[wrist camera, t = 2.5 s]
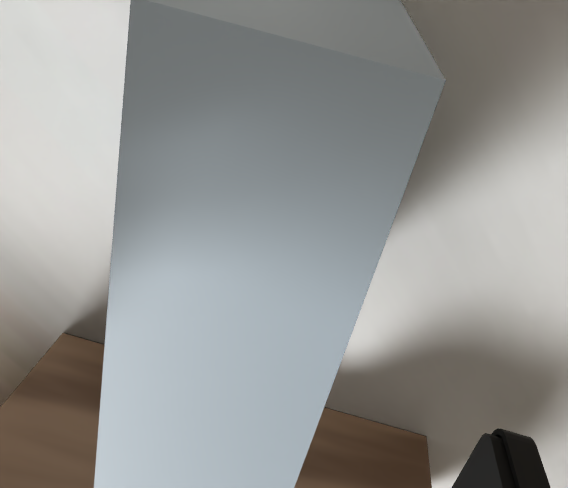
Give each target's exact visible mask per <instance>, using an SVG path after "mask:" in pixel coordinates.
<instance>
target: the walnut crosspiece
mask: <svg viewBox="0 0 568 488" xmlns="http://www.w3.org/2000/svg"><path fill="white" fill-rule="evenodd" d="M104 347H105V345H103V344H100V343H96V342H93V341H89V340H86V339H82V338H79V337H75V336H72V335H68V334H65V333H62V335H61V336H60V337H59V338H58V339H57V341H56V342H55V343H54V344H53V345H52V346H51V348H50V349H49V350H48V351H47V352H46V354H45V355H44V356H43V357H42V358H41V360H40V361H39V362H38V363H37V364H36V366H35V367H34V368H33V369H32V370H31V372H30V373H29V374H28V375H27V376H26V377H25V379H24V380H23V381H22V382H21V383H20V385H19V386H18V387H17V388H16V389H15V391H14V392H13V393H12V394H11V395H10V397H9V398H8V399H7V400H6V401H5V403H4V404H3V405H2V406H1V407H0V488H94V479H95V465H96V452H97V439H98V426H99V413H100V399H101V386H102V373H103V360H104ZM294 488H432V486H431V477H430V467H429V457H428V448H427V438H426V436H423V435H419V434H416V433H412V432H409V431H405V430H402V429H398V428H395V427H391V426H388V425H384V424H381V423H377V422H374V421H370V420H367V419H363V418H360V417H356V416H353V415H349V414H346V413H342V412H339V411H335V410H332V409H328V408H325V407H324V409H323V412H322V414H321V417H320V420H319V422H318V425H317V428H316V431H315V433H314V436H313V439H312V441H311V444H310V447H309V449H308V452H307V455H306V457H305V460H304V463H303V465H302V468H301V471H300V473H299V476H298V479H297V482H296V484H295V487H294Z"/></svg>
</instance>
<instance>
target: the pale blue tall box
mask: <svg viewBox="0 0 568 488" xmlns="http://www.w3.org/2000/svg"><path fill="white" fill-rule="evenodd" d="M445 82H446V80H445V78H444V76H443V74H442V73H441V71H440V69H439V67H438V65H437V64H436V62H435V60H434V58H433V57H432V55H431V53H430V51H429V50H428V48H427V46H426V44H425V43H424V41H423V39H422V37H421V36H420V34H419V32H418V30H417V29H416V27H415V25H414V23H413V21H412V20H411V18H410V16H409V14H408V13H407V11H406V9H405V7H404V6H403V4H402V2H401V1H400V0H131V4H130V17H129V30H128V43H127V56H126V70H125V83H124V96H123V109H122V122H121V136H120V149H119V162H118V175H117V188H116V202H115V215H114V228H113V241H112V254H111V268H110V281H109V294H108V307H107V320H106V333H105V347H104V360H103V373H102V386H101V399H100V413H99V426H98V439H97V452H96V465H95V479H94V488H294V487H295V484H296V482H297V479H298V476H299V473H300V471H301V468H302V465H303V463H304V460H305V457H306V455H307V452H308V449H309V447H310V444H311V441H312V439H313V436H314V433H315V431H316V428H317V425H318V422H319V420H320V417H321V414H322V412H323V409H324V406H325V404H326V401H327V398H328V396H329V393H330V390H331V388H332V385H333V382H334V380H335V377H336V374H337V371H338V369H339V366H340V363H341V361H342V358H343V355H344V353H345V350H346V347H347V345H348V342H349V339H350V337H351V334H352V331H353V329H354V326H355V323H356V320H357V318H358V315H359V312H360V310H361V307H362V304H363V302H364V299H365V296H366V294H367V291H368V288H369V286H370V283H371V280H372V278H373V275H374V272H375V269H376V267H377V264H378V261H379V259H380V256H381V253H382V251H383V248H384V245H385V243H386V240H387V237H388V235H389V232H390V229H391V227H392V224H393V221H394V218H395V216H396V213H397V210H398V208H399V205H400V202H401V200H402V197H403V194H404V192H405V189H406V186H407V184H408V181H409V178H410V176H411V173H412V170H413V167H414V165H415V162H416V159H417V157H418V154H419V151H420V149H421V146H422V143H423V141H424V138H425V135H426V133H427V130H428V127H429V125H430V122H431V119H432V116H433V114H434V111H435V108H436V106H437V103H438V100H439V98H440V95H441V92H442V90H443V87H444V84H445Z"/></svg>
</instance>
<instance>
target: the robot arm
mask: <svg viewBox="0 0 568 488" xmlns="http://www.w3.org/2000/svg"><path fill="white" fill-rule="evenodd" d="M452 488H550V485H549V482H548V479H547V476H546V473H545V470H544V467H543V464H542V461H541V458H540V455H539V452H538V449H537V446H536V444H535V442H534V440H533V439H532V438H530V437H527V436H524V435H520V434H517V433H513V432H510V431H506V430H503V429H496V430H495V431H494V432H493V433H492V434H491V435H490V434H486V433H485V434H484V435H482V437H481V438H480V440H479V442H478V443H477V445H476V447H475V448H474V450H473V452H472V454H471V455H470V457H469V459H468V460H467V462H466V464H465V466H464V467H463V469H462V471H461V473H460V474H459V476H458V478H457V479H456V481H455V483H454V485H453V486H452Z"/></svg>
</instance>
